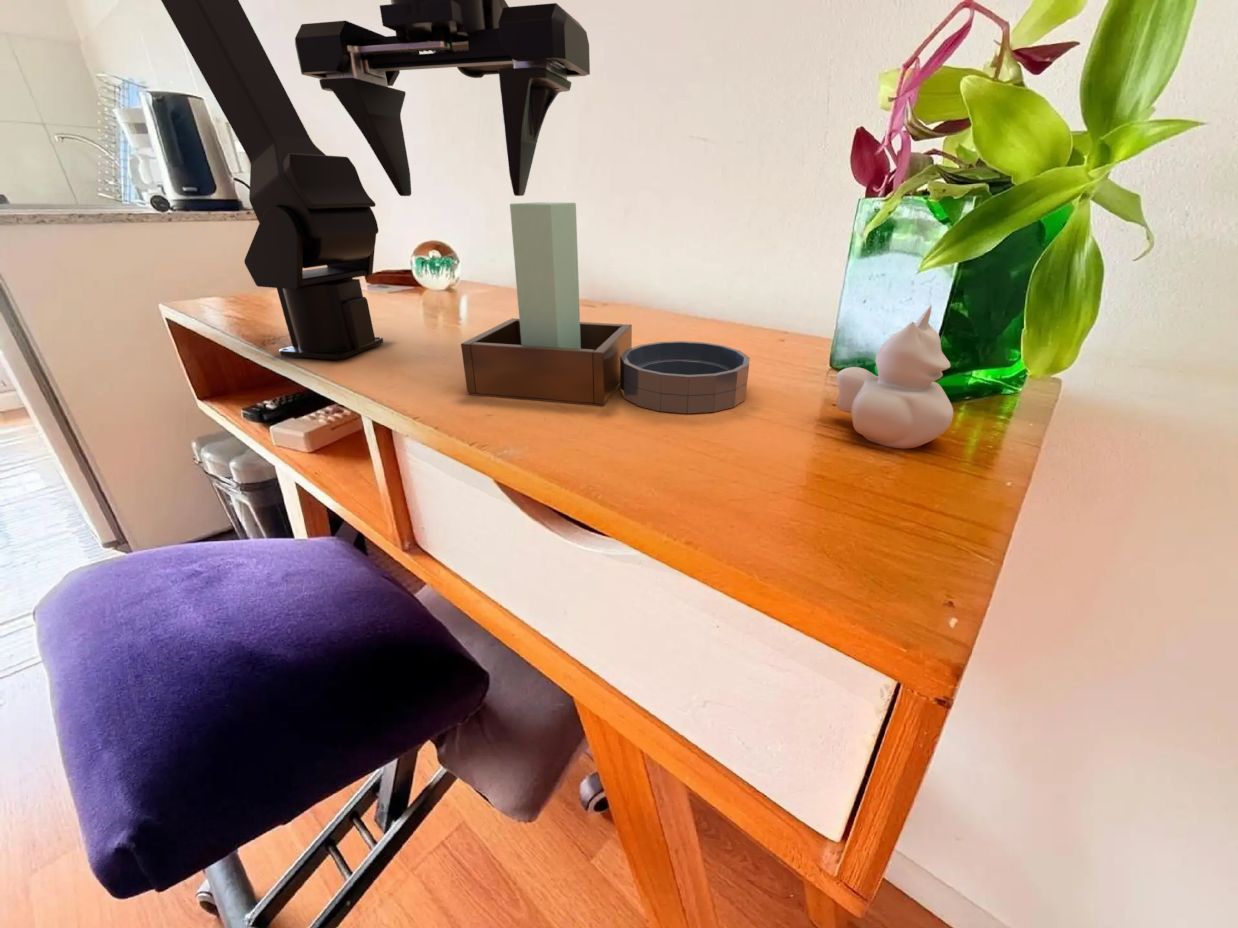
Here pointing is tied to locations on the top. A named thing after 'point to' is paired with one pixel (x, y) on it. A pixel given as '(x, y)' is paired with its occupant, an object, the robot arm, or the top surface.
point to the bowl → (684, 376)
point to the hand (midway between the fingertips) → (461, 196)
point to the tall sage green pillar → (547, 273)
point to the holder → (546, 365)
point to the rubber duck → (900, 390)
